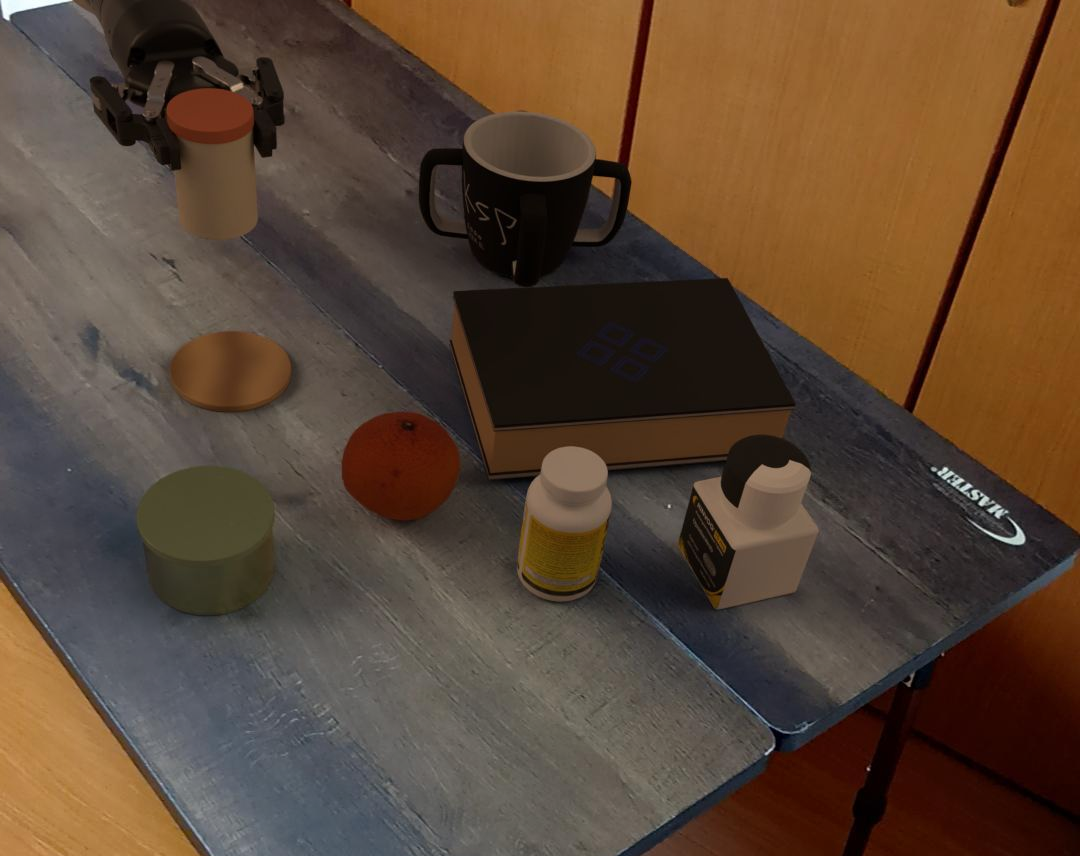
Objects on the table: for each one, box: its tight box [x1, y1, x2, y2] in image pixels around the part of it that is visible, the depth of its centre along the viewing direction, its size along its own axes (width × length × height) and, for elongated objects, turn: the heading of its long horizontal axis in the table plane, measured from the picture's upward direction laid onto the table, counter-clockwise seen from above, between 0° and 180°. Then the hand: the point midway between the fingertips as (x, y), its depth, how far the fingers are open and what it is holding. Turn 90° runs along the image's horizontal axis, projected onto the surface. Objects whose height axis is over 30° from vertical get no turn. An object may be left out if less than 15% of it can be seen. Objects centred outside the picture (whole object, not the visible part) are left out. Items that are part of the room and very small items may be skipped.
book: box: [448, 277, 797, 481], centre depth 112 cm, size 17×25×7 cm
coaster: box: [169, 330, 292, 413], centre depth 112 cm, size 10×10×1 cm
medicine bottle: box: [677, 435, 819, 611], centre depth 98 cm, size 7×7×12 cm
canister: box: [166, 88, 259, 241], centre depth 97 cm, size 6×6×9 cm
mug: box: [418, 110, 633, 288], centre depth 124 cm, size 16×16×12 cm
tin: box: [135, 465, 276, 616], centre depth 94 cm, size 9×9×6 cm
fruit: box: [341, 411, 461, 521], centre depth 101 cm, size 9×9×8 cm
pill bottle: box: [516, 446, 613, 603], centre depth 96 cm, size 6×6×11 cm
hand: (222, 152), depth 93 cm, fingers closed on canister, 6 cm apart
